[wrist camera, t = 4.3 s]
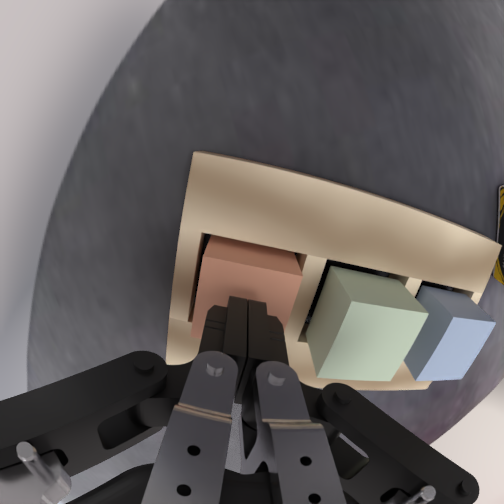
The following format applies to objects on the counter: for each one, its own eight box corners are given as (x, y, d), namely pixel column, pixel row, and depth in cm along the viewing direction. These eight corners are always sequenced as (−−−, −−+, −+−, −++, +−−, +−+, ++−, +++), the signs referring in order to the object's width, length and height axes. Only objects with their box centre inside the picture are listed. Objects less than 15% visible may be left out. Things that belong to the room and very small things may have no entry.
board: (201, 150, 14) (193, 151, 12) (484, 235, 15) (502, 245, 14) (172, 343, 18) (165, 363, 16) (416, 372, 20) (426, 389, 18)
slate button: (422, 285, 15) (453, 317, 11) (465, 294, 15) (496, 322, 12) (393, 343, 16) (415, 380, 13) (438, 346, 17) (461, 378, 13)
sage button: (330, 265, 14) (351, 301, 11) (398, 279, 15) (429, 313, 11) (305, 333, 16) (316, 377, 12) (369, 341, 16) (390, 381, 13)
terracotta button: (213, 230, 15) (202, 255, 12) (292, 247, 15) (303, 276, 12) (200, 299, 17) (190, 336, 13) (272, 314, 17) (276, 352, 14)
